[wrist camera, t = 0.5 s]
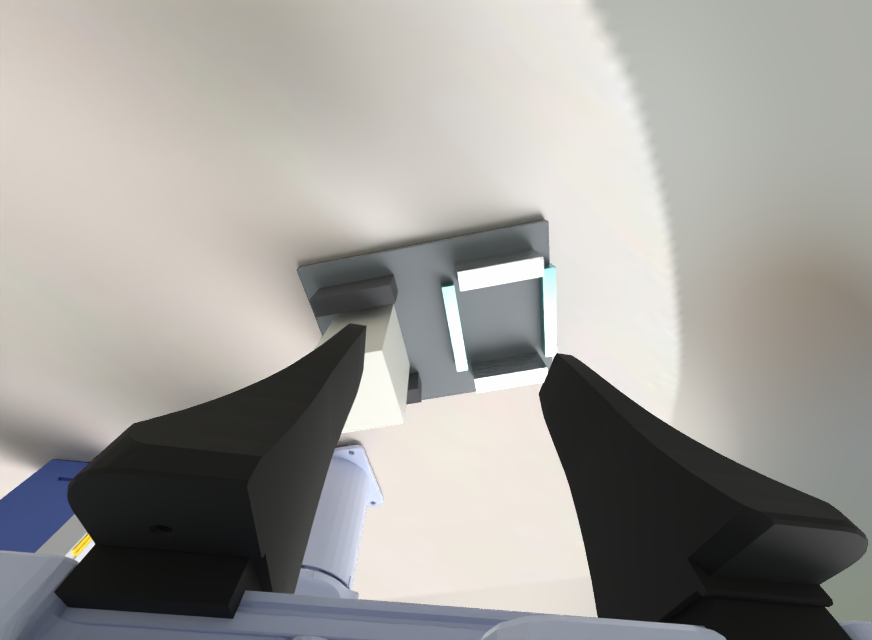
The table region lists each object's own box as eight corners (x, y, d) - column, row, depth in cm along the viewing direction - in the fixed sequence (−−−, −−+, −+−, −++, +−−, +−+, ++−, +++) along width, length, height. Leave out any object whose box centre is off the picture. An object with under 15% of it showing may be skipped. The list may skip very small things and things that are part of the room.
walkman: (63, 479, 29) (-157, 667, 18) (52, 458, 27) (-190, 646, 17) (154, 487, 29) (-3, 672, 19) (148, 467, 28) (-25, 652, 17)
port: (458, 378, 24) (461, 395, 22) (437, 266, 20) (438, 275, 18) (553, 362, 23) (563, 379, 22) (550, 245, 20) (562, 253, 18)
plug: (357, 373, 23) (337, 434, 18) (336, 314, 21) (305, 363, 16) (409, 364, 23) (404, 423, 18) (393, 303, 21) (381, 350, 16)
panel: (354, 406, 26) (352, 411, 25) (299, 266, 20) (296, 269, 20) (549, 374, 25) (552, 378, 24) (545, 219, 19) (548, 221, 19)
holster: (359, 394, 24) (353, 412, 23) (319, 288, 20) (309, 299, 19) (421, 384, 24) (421, 401, 22) (393, 274, 20) (390, 284, 18)
